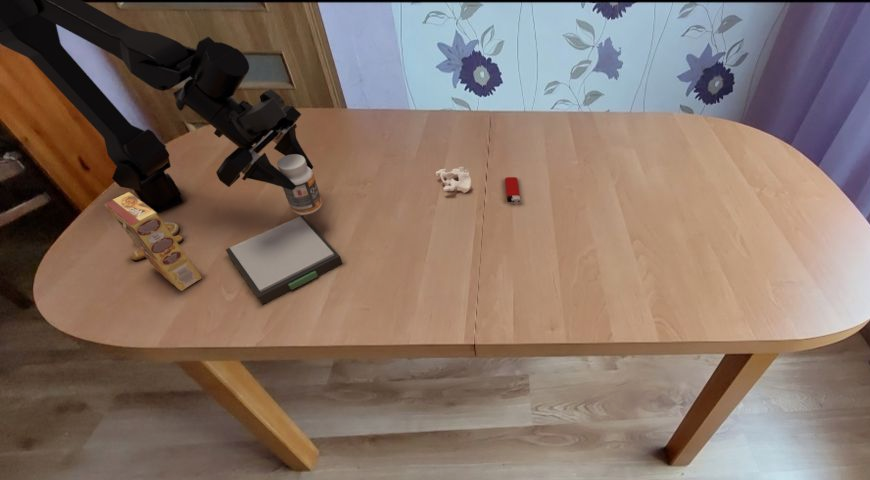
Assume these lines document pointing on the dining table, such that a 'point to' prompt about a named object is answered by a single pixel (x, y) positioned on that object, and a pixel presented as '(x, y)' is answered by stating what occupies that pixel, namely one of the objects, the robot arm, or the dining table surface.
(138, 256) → the cookie
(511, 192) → the lighter
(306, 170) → the pill bottle
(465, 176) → the hip bone replica
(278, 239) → the kitchen scale
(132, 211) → the candy box
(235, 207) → the dining table surface
